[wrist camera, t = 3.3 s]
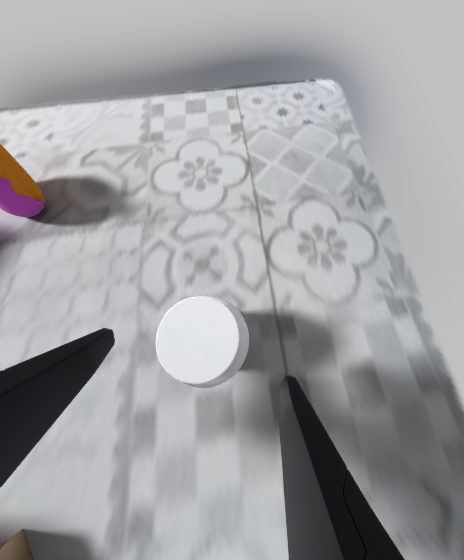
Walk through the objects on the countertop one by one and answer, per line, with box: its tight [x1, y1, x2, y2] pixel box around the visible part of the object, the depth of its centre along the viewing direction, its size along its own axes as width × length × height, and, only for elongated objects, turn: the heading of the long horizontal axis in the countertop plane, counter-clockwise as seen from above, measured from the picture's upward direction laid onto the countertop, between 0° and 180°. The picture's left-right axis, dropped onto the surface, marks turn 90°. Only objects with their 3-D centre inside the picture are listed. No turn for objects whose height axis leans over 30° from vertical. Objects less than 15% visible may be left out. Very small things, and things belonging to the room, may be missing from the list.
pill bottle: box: [156, 296, 249, 388], centre depth 13 cm, size 5×5×10 cm
